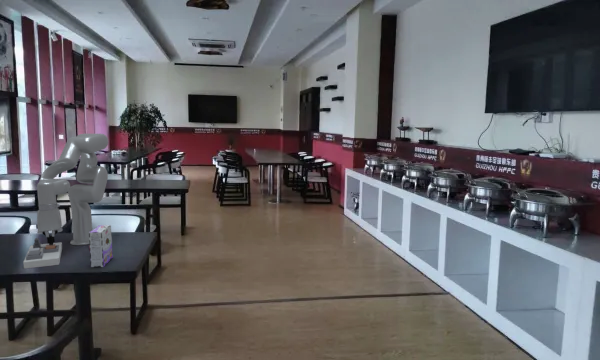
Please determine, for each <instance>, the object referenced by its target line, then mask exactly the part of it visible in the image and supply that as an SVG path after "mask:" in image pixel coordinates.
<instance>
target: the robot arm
mask: <svg viewBox="0 0 600 360" xmlns="http://www.w3.org/2000/svg"><path fill="white" fill-rule="evenodd" d="M108 145H109V138H108V136H107V135H106V134H104V133H80V134H77V135H76V136H71V137H69V138H68V139H67V140H66V143H65V145H64V147H63V150H62V152H61V154H60V155H59V159H57V160H55V161H54V162H53V163H51V164H50V165H49V166H48V167H46V168H45V169H44V170H43V172H42V174H41V176H40V179H39V181H38V183H37V185H36V187H37V188H36V191H37V199H38V210H37V214H36V223H37V224H36V227H37V231H36V232H37V234H39V235H44V236H45V237H46V242H47V243H46V244H49V245H53V243H56V242H55V241H56V240H55V235H57V233H61V232H63V225H62V216H61V212H60V209H59V207H61V204H60V203H57V195H64V194H67V195H68V199H69V203H70V208H71V223H72V236H73V237H72V239H71V240H70V245H72V246H85V245H89V232H90V231H92V230H93V221H92V220H93V219H92V218H93V217H92V216H93V215H92V208H91V206H90V205H89V204H91V203H93V204H95V203H100V202H101V201H102V199H103V197H104V195H105V191H106V186H107V182H108V177H109V175H108V174H109V173H108V170H107V168H105V167H104V166H99V165H98V161H99V160H98V156H97V154H96V152H100V151H102V150H105V149H106V148H107V147H108ZM78 162H79V164H78ZM77 165H78V168H77V171H76V174H75V175H76V176H75V178H76V181H77V182H78V183H80V184H74V185H72V186H71V183H70V182H69V180H67V179H65V178H56V177H57V176H58V175H60V174H62V173H64V172H67V171H70V170H73V169H74V168H75V167H76V166H77ZM50 232H51V234H50Z"/></svg>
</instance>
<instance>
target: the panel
mask: <svg viewBox="0 0 600 360" xmlns="http://www.w3.org/2000/svg"><path fill="white" fill-rule="evenodd" d="M53 244H56V248H54V249H46V245H49V243H43V244H42V243H41V247H40V254H39V255H35V256H29V249H32V248H33V245H32V244H31V245H30V246H29V248H28V251H27V253H26V254H25V257H24V260H23V262H22V263H23V270H25V269H33V268H41V267H43V268H44V267H52V266H58V265H60V261H61V257H62V250H63V243H62V242H54V243H53Z"/></svg>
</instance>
